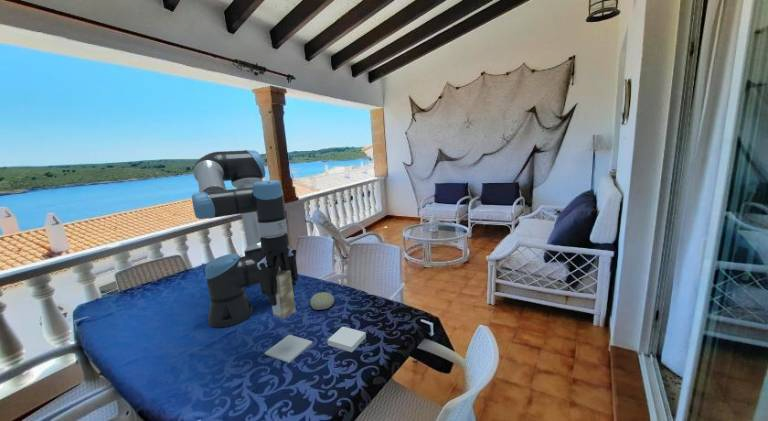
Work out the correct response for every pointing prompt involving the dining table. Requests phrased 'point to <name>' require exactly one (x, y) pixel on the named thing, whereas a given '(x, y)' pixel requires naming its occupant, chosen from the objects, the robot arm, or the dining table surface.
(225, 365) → the dining table surface
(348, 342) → the tile
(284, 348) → the mat
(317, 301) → the sea urchin shell
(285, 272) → the beige rectangular block
